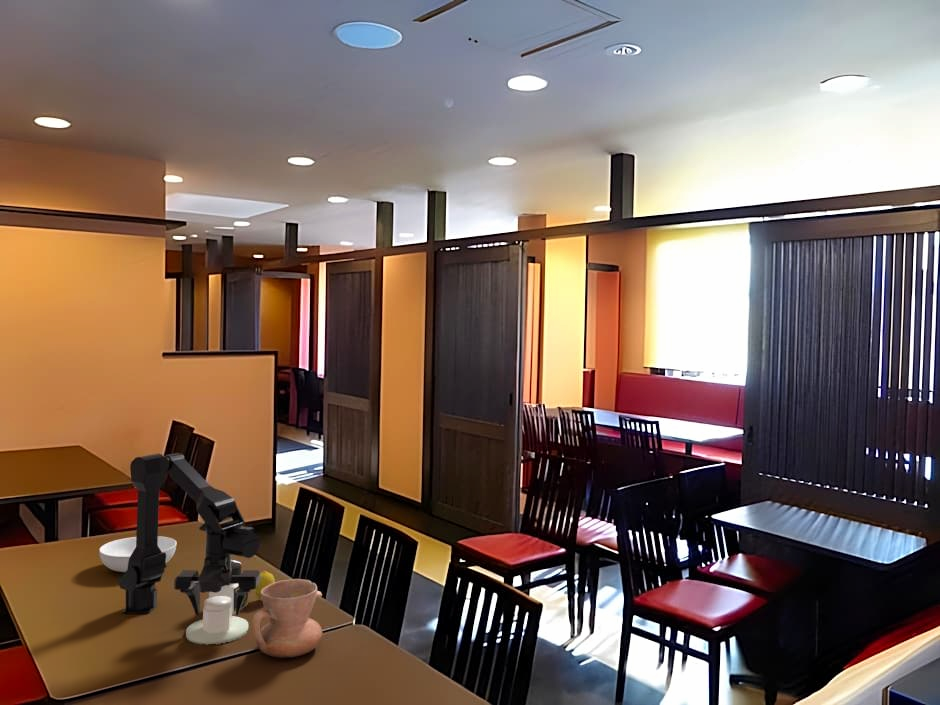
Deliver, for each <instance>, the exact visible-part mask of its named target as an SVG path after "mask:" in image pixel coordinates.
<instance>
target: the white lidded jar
mask: <svg viewBox="0 0 940 705" xmlns="http://www.w3.org/2000/svg"><path fill="white" fill-rule="evenodd" d="M203 602H204V606H203V609H202V619H203V630H204V631H206V632H207V633H221V632H224V631H227V630H229V629H230V627H231V626H232V616H233V615H232V605H231V598H230V597H227V596H215V597H211V598H209V597H208V598H207V599H205V600H204V601H203Z"/></svg>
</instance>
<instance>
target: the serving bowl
mask: <svg viewBox="0 0 940 705" xmlns="http://www.w3.org/2000/svg"><path fill="white" fill-rule="evenodd" d="M177 544H178V542H177V540H176V539H174V538H171V537H167V536H161V535H160V536H159V535H158V547H159V548H160V550H161V551H162V552H165V553H166V564H167V563H168V562H169V561H170V560H171V559H172V558H173V557H174V554H175V552H176V549H177ZM135 548H136V536H132V537H126V538H120V539H115V540H112V541H109V542H107V543H105V544H103V545H102V546H101V547H99V558H100V560H101V562H102V563H103V565H104V566H105V567H107V568H108V569H109V570H112V571H115V572H118V573H119V572H120V573H125V572H126V571H127V568H128V562H129V558H130V556H131V554H132V553H133V551H134V549H135Z"/></svg>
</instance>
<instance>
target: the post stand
mask: <svg viewBox="0 0 940 705" xmlns="http://www.w3.org/2000/svg"><path fill="white" fill-rule="evenodd" d="M247 631H249V622H248V620H247V619H245V618H242V617H239V616H236V615H232V626H231V627H230V629H229V630H227V631H224V632H221V633H207V632H206V631H204V630H203V618H202V619H199V620H197V621H194V622H193V623H191V624H189V626H187V628H186V630H185V637H186V639H187V641H189V642H191V643H193V644H197V645H202V644H205V645H207V646H211V645H210V644H216V645H222V644H221V643H223V644H227V643H226V642H228V643H231V642H234V641H237V640H239V639H241V638H243V637H244V636H245V635H246V634H247V633H248V632H247ZM242 636H243V637H242ZM238 638H239V639H238ZM236 639H237V640H236ZM233 640H234V641H233ZM208 644H209V645H208ZM205 645H204V646H205Z"/></svg>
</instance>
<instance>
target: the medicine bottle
mask: <svg viewBox="0 0 940 705" xmlns="http://www.w3.org/2000/svg"><path fill="white" fill-rule="evenodd" d="M231 568H232V572H231V573H232V575H241V574H242V563H241V562H240V561H237V560H234V559H233V560H232V559H231ZM238 589H239V586H238V584H230V585H225V586H222V588H221V590H220V591H219V592H217V593H214V592H208V598H211V597H215V596H227V597H230V598H231V605H232V616H235V615H236V605H237V597H238V594H237V591H238ZM248 604H249V592H248V593H246V596H245V598H244V601H243V604H242V607H241V609H240V611H241V610H243V609H244V608H245V607H246V606H248Z"/></svg>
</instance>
